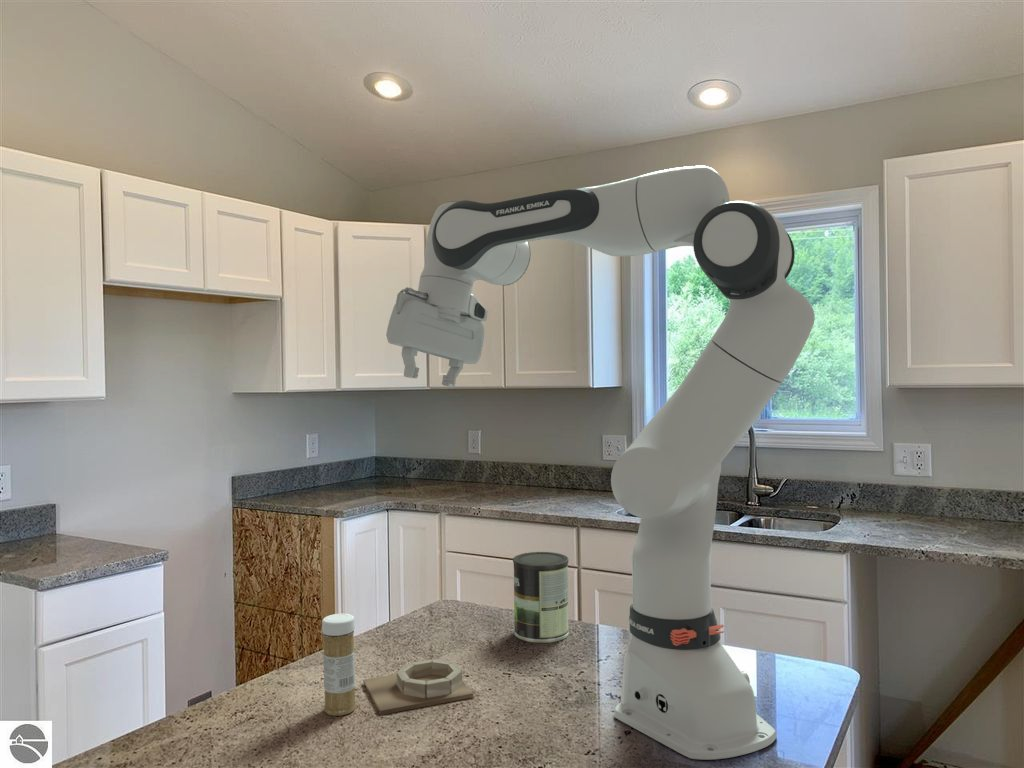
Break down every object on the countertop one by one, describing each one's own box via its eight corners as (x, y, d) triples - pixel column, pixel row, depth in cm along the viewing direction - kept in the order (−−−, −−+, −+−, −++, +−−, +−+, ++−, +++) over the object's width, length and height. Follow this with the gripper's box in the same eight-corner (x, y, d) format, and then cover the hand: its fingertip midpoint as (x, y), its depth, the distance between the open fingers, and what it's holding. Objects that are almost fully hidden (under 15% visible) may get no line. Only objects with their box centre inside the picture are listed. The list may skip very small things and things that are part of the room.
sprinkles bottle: (351, 701, 111) (350, 610, 111) (359, 713, 107) (357, 619, 107) (320, 707, 109) (318, 615, 109) (327, 720, 105) (325, 624, 105)
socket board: (473, 697, 112) (473, 679, 112) (380, 715, 106) (380, 696, 106) (448, 669, 123) (448, 653, 123) (363, 683, 117) (363, 667, 117)
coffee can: (511, 642, 135) (510, 564, 134) (516, 624, 145) (515, 551, 145) (568, 644, 134) (567, 565, 133) (570, 625, 144) (569, 551, 144)
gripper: (415, 284, 114) (399, 373, 113) (494, 314, 131) (481, 392, 130) (385, 284, 118) (370, 370, 117) (466, 313, 134) (453, 389, 133)
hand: (429, 382), depth 123 cm, fingers open, 8 cm apart
